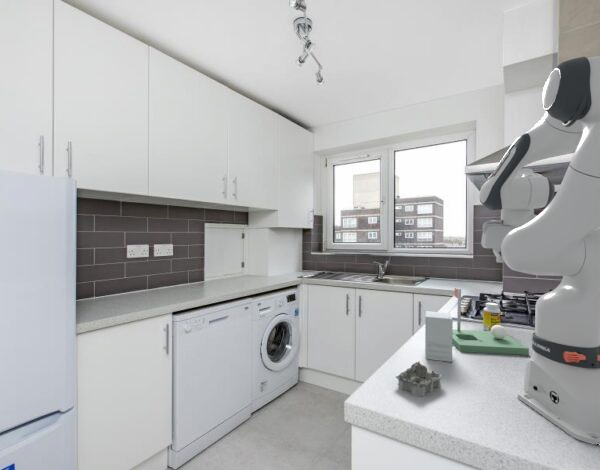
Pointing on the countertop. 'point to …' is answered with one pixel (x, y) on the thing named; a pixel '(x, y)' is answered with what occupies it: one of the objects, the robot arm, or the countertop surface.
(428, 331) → the supplement box
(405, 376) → the egg carton
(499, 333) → the ball
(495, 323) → the supplement bottle
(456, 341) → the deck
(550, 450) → the countertop surface
